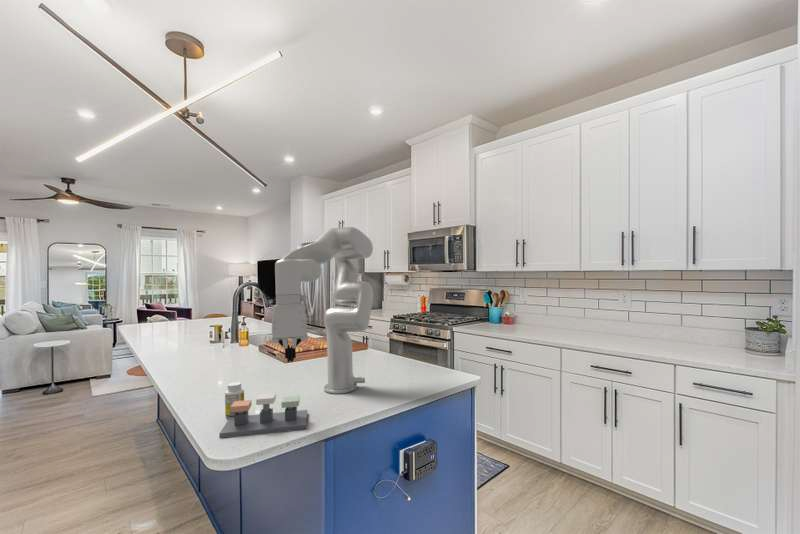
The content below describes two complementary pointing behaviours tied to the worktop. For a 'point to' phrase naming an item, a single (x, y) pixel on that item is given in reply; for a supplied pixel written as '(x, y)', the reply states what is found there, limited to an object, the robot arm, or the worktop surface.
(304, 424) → the keypad board
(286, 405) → the green key
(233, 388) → the supplement bottle
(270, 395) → the key mid
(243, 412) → the key
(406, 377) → the worktop surface
